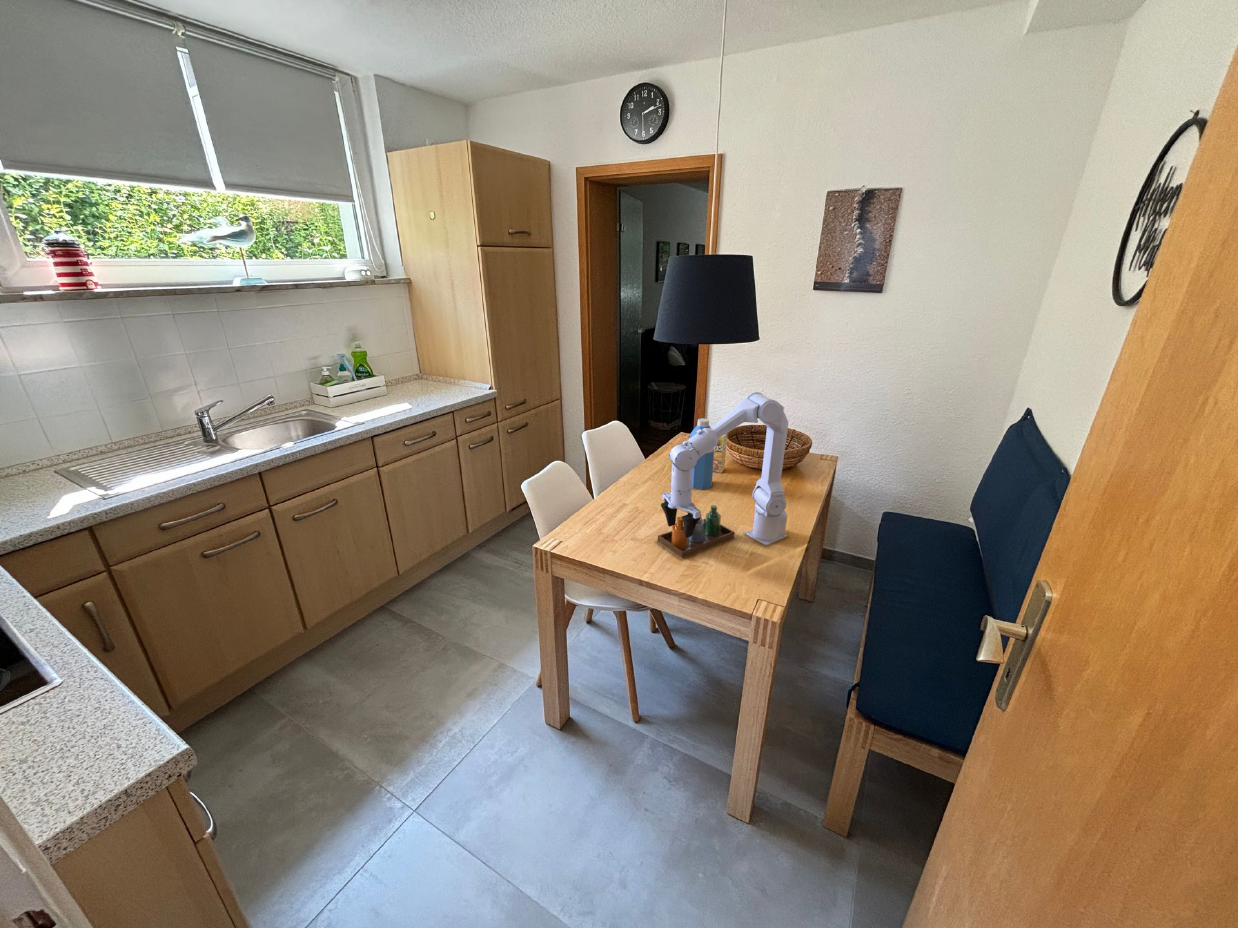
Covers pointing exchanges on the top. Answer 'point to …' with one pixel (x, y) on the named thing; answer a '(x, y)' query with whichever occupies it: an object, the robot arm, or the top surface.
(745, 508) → the top surface
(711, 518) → the green bottle
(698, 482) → the water bottle
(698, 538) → the blue-grey bottle
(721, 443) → the candy box
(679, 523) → the amber bottle
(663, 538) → the tray
